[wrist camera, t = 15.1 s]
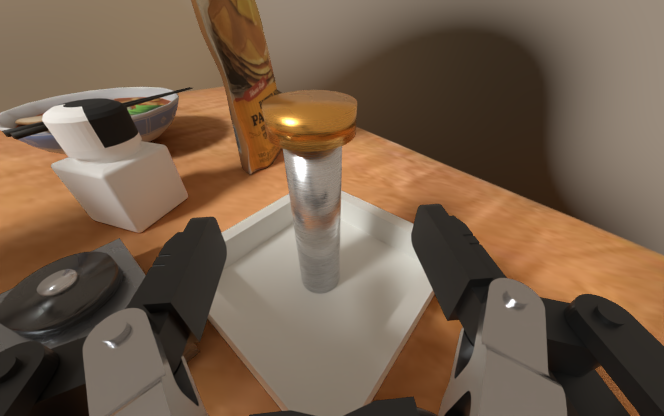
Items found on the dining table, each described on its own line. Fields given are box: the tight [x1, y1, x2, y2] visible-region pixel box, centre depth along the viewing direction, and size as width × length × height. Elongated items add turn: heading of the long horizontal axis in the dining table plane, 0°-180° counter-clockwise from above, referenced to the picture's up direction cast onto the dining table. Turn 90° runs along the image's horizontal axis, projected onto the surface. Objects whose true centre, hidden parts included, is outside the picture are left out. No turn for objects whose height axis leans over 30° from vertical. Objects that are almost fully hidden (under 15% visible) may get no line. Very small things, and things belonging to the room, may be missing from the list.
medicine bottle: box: [42, 98, 188, 233], centre depth 26 cm, size 7×7×12 cm
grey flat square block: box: [0, 238, 200, 363], centre depth 15 cm, size 13×13×4 cm
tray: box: [207, 191, 435, 416], centre depth 20 cm, size 16×16×4 cm
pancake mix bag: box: [191, 0, 282, 175], centre depth 33 cm, size 7×19×28 cm, turn 172°
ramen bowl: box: [0, 87, 192, 154], centre depth 41 cm, size 25×23×8 cm
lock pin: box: [261, 90, 357, 294], centre depth 16 cm, size 5×5×14 cm
